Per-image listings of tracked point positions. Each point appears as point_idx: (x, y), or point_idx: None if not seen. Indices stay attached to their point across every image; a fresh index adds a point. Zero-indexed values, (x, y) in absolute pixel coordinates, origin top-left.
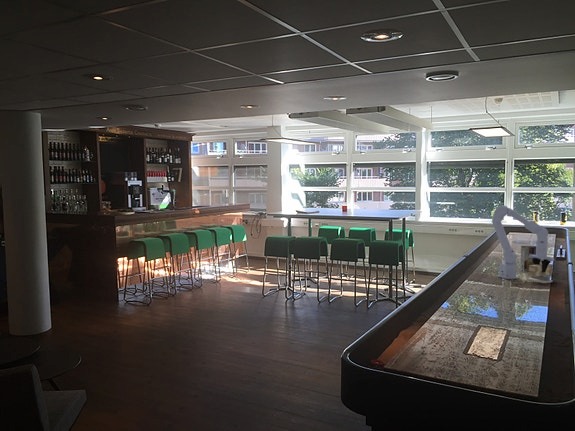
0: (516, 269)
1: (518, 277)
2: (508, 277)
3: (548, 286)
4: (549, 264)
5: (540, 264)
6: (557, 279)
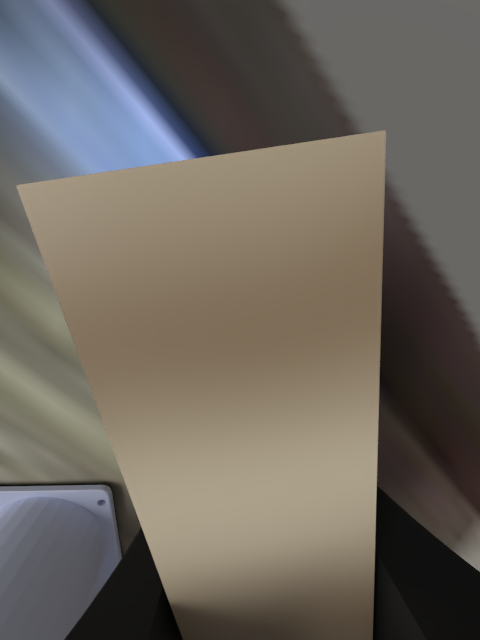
0: (27, 623)
1: (101, 498)
2: (104, 578)
3: (437, 479)
4: (321, 320)
5: (217, 616)
6: (241, 71)
